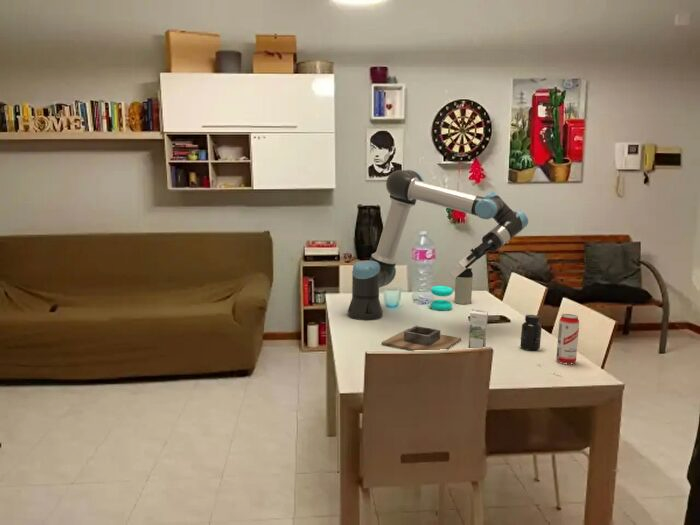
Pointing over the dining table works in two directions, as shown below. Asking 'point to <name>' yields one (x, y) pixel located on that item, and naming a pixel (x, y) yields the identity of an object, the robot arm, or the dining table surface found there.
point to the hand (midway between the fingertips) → (456, 270)
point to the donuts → (441, 304)
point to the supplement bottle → (531, 333)
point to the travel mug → (464, 287)
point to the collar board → (421, 339)
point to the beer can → (567, 338)
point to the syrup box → (478, 328)
